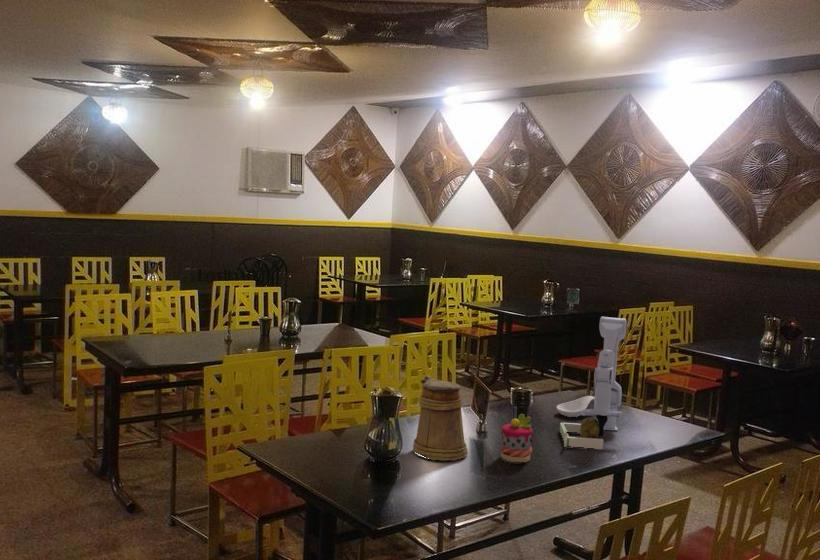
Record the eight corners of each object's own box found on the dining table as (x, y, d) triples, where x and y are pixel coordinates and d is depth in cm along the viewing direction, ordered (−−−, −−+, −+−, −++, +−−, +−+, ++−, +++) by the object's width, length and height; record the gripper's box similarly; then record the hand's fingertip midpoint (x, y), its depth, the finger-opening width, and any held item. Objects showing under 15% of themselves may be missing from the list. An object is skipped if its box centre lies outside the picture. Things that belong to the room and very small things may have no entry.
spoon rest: (570, 421, 303) (571, 404, 303) (550, 414, 313) (551, 397, 312) (610, 414, 316) (611, 398, 315) (590, 408, 326) (591, 391, 325)
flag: (563, 447, 268) (564, 429, 267) (566, 447, 268) (567, 429, 267) (564, 450, 265) (565, 432, 264) (567, 450, 265) (568, 432, 264)
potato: (574, 445, 272) (570, 423, 272) (585, 437, 283) (582, 416, 283) (596, 445, 268) (593, 423, 268) (607, 436, 279) (604, 415, 279)
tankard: (431, 466, 243) (435, 391, 240) (396, 445, 263) (399, 375, 261) (477, 458, 252) (481, 386, 250) (440, 439, 272) (443, 371, 270)
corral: (559, 431, 288) (560, 422, 288) (594, 433, 287) (594, 424, 287) (565, 447, 269) (566, 437, 268) (602, 449, 268) (603, 440, 267)
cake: (523, 466, 246) (526, 422, 245) (494, 460, 251) (497, 416, 250) (535, 458, 255) (538, 415, 253) (507, 452, 260) (509, 410, 259)
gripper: (584, 400, 272) (582, 437, 273) (624, 403, 271) (622, 439, 272) (581, 396, 279) (579, 431, 280) (620, 398, 278) (618, 434, 279)
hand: (600, 435), depth 277 cm, fingers closed, pressing on potato
